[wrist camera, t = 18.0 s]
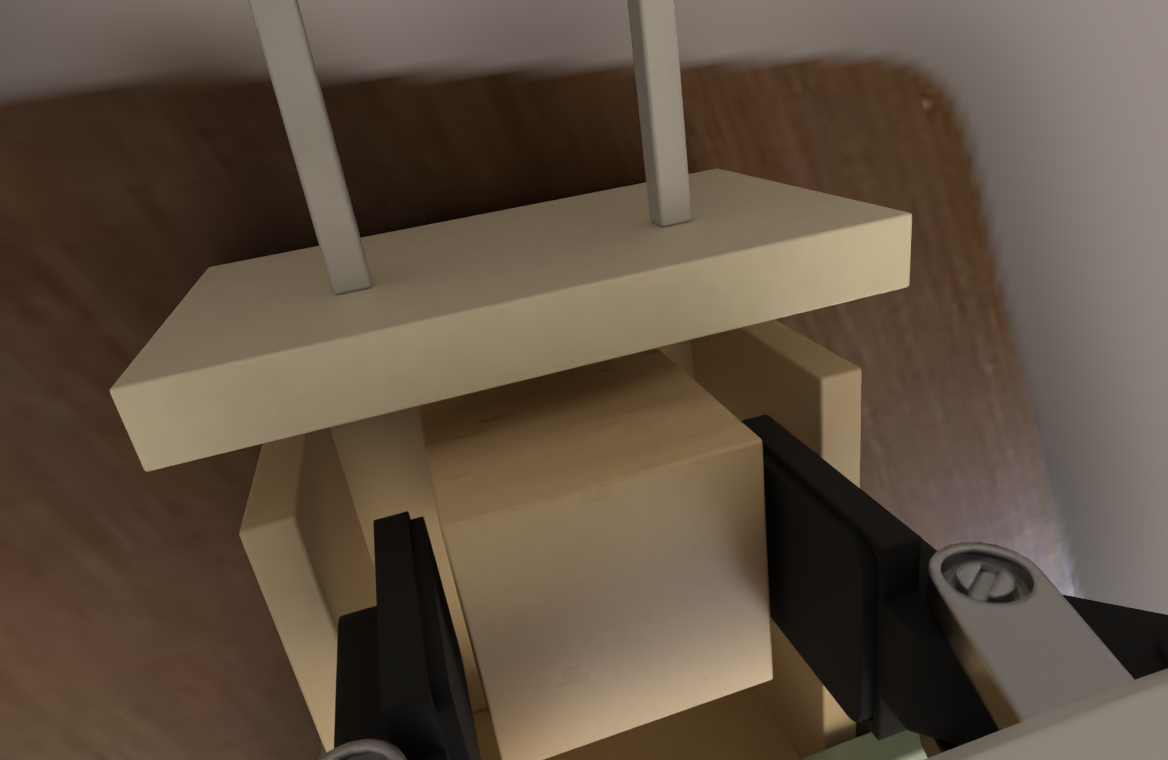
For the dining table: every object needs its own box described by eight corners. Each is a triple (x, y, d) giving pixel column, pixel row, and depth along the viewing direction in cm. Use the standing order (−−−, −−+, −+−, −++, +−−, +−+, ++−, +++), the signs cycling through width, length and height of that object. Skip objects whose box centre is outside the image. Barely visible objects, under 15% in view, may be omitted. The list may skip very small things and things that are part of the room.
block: (415, 394, 13) (439, 528, 9) (648, 338, 14) (764, 439, 10) (465, 591, 15) (504, 774, 11) (669, 530, 16) (774, 680, 12)
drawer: (93, -52, 13) (-145, -176, 7) (700, -118, 15) (933, -255, 9) (374, 736, 21) (382, 1009, 14) (746, 614, 23) (888, 805, 17)
